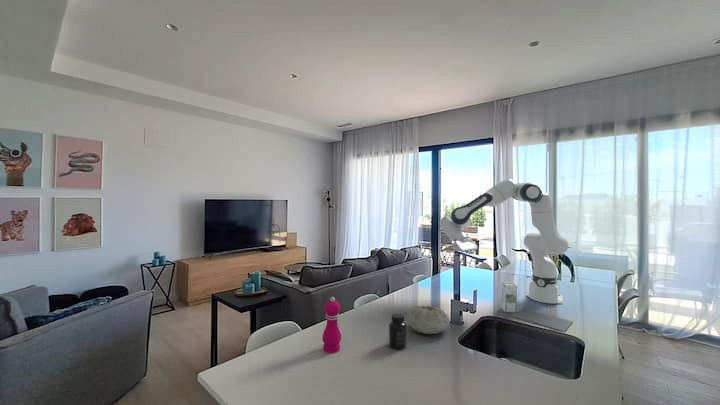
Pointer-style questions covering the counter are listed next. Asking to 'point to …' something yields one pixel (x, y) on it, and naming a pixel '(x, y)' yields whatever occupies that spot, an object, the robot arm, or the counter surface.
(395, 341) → the supplement bottle
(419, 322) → the decorative shell
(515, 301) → the syrup box
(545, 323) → the charcoal mat
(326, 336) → the pepper mill
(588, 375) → the counter surface
